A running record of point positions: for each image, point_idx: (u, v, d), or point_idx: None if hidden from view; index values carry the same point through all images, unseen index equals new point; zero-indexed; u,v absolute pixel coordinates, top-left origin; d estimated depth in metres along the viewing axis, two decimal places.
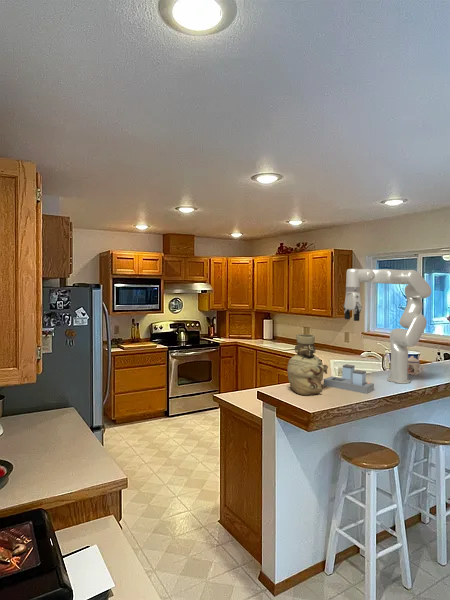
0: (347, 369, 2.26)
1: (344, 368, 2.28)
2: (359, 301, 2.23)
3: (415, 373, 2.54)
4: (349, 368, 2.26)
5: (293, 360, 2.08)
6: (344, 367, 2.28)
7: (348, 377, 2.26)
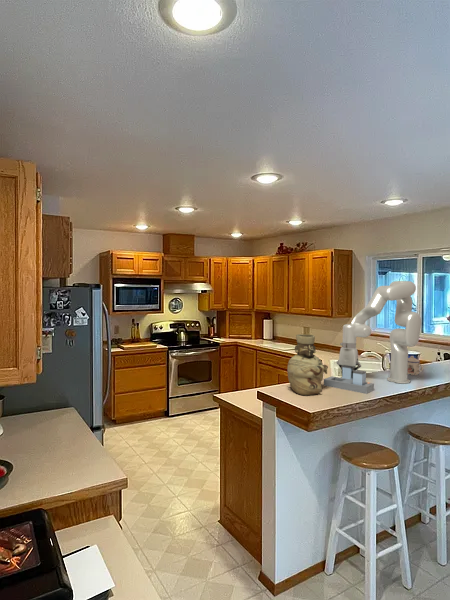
0: (347, 369, 2.26)
1: (344, 368, 2.28)
2: None
3: (415, 373, 2.54)
4: (349, 368, 2.26)
5: (293, 360, 2.08)
6: (344, 367, 2.28)
7: (348, 377, 2.26)
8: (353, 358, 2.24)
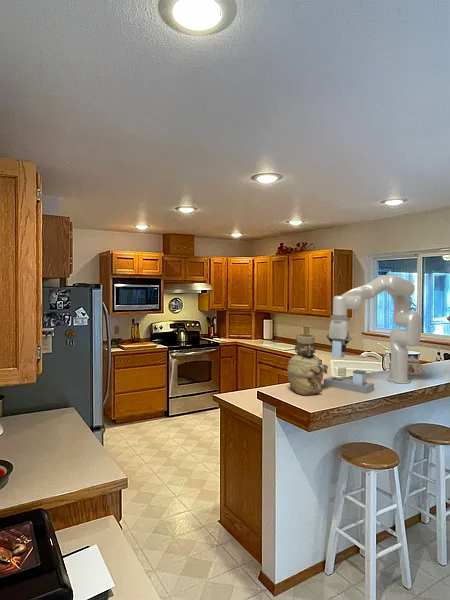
0: (337, 342, 2.16)
1: (334, 342, 2.17)
2: None
3: (415, 373, 2.54)
4: (339, 341, 2.15)
5: (293, 360, 2.08)
6: (334, 340, 2.17)
7: (339, 350, 2.15)
8: (343, 331, 2.13)
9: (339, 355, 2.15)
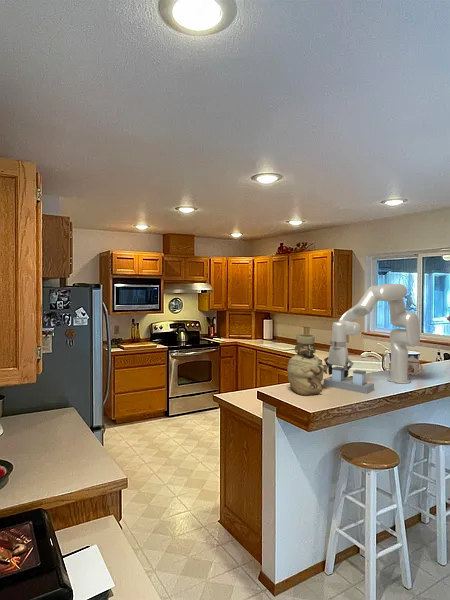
0: (337, 371, 2.16)
1: (334, 370, 2.17)
2: None
3: (415, 373, 2.54)
4: (339, 370, 2.15)
5: (293, 360, 2.08)
6: (334, 369, 2.17)
7: (338, 379, 2.16)
8: (343, 357, 2.14)
9: None
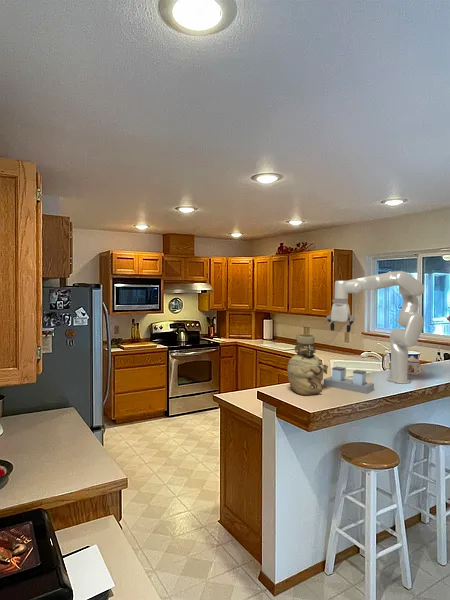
0: (337, 371, 2.16)
1: (334, 370, 2.17)
2: None
3: (415, 373, 2.54)
4: (339, 370, 2.15)
5: (293, 360, 2.08)
6: (334, 369, 2.17)
7: (338, 379, 2.16)
8: (345, 313, 2.25)
9: None
